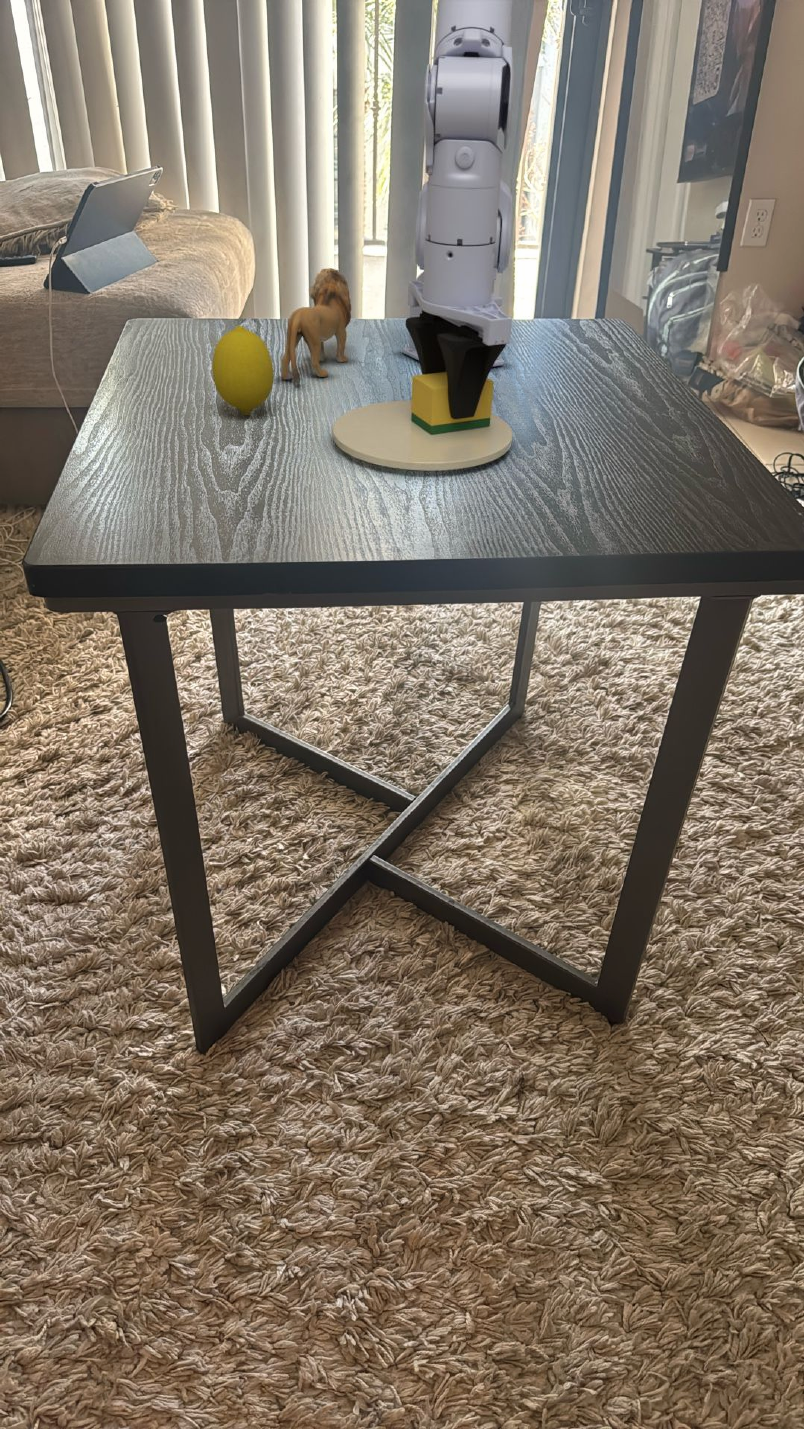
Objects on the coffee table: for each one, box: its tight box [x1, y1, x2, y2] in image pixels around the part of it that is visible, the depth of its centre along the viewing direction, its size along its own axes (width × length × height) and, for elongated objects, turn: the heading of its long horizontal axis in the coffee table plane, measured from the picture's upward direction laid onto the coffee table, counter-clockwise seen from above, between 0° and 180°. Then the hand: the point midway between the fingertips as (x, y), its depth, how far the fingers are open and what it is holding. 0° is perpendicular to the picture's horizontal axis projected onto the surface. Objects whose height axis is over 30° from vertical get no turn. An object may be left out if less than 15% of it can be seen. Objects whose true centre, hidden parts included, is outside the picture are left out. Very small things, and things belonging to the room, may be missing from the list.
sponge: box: [411, 372, 495, 435], centre depth 81 cm, size 4×6×4 cm, turn 116°
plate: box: [332, 399, 514, 472], centre depth 81 cm, size 16×16×1 cm
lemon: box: [212, 325, 274, 416], centre depth 84 cm, size 6×6×8 cm
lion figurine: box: [281, 267, 352, 384], centre depth 96 cm, size 15×5×9 cm, turn 168°
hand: (450, 409), depth 81 cm, fingers closed on sponge, 4 cm apart
